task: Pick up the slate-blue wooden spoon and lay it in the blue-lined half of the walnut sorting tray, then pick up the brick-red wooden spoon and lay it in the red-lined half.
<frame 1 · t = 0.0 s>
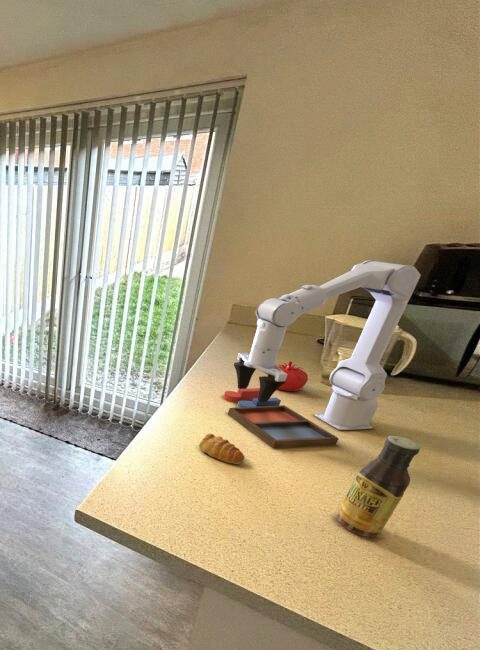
hand: (252, 394, 104), 10 cm above the countertop, tool pointing down, fingers open, 7 cm apart
blue spoon: (255, 408, 117), on the countertop
pastry: (218, 453, 98), on the countertop
red spoon: (240, 398, 123), on the countertop
pomegranate: (283, 388, 129), on the countertop
sorting tray: (277, 428, 107), on the countertop
sauce bottle: (357, 528, 75), on the countertop
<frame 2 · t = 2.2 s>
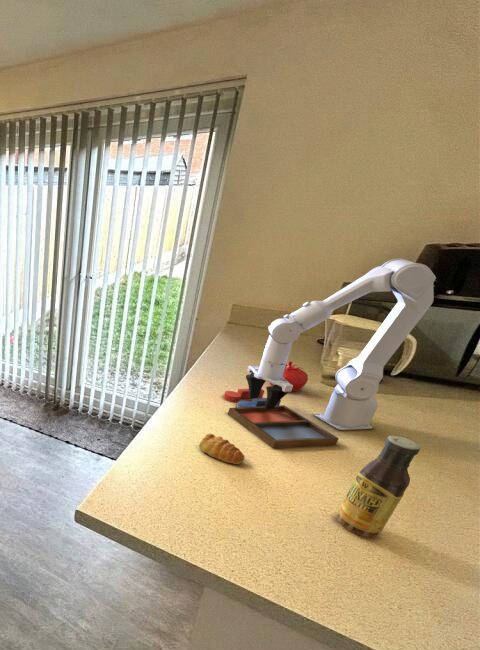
hand: (261, 402, 116), 2 cm above the countertop, tool pointing down, fingers open, 6 cm apart
nothing on the countertop moved.
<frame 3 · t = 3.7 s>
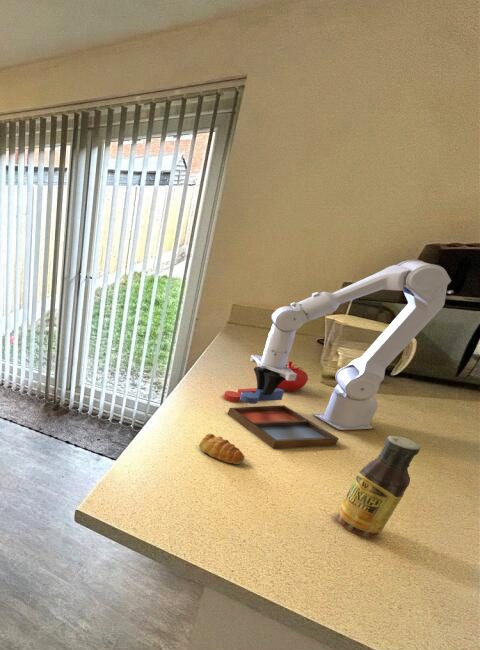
hand: (264, 392, 115), 5 cm above the countertop, tool pointing down, fingers closed on blue spoon, 2 cm apart
blue spoon: (258, 399, 116), point 3 cm above the countertop, touching gripper
everything else where it was.
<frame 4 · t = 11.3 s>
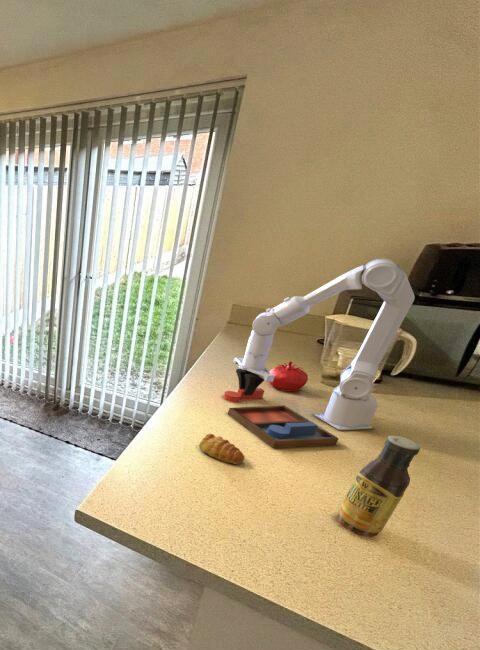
hand: (245, 393, 122), 2 cm above the countertop, tool pointing down, fingers closed on red spoon, 2 cm apart
blue spoon: (288, 434, 103), point 1 cm above the countertop, touching sorting tray
red spoon: (240, 398, 123), on the countertop, touching gripper
everything else where it was.
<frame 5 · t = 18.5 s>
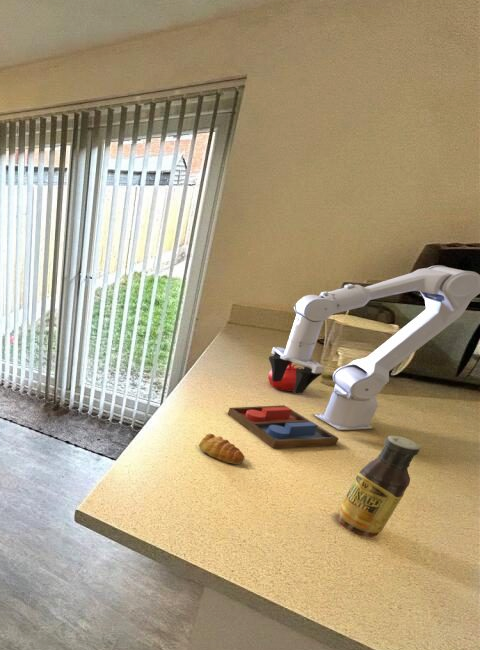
hand: (286, 386, 109), 9 cm above the countertop, tool pointing down, fingers open, 7 cm apart
red spoon: (265, 418, 110), point 1 cm above the countertop, touching sorting tray
everything else where it was.
at the end: blue spoon inside the target area on the sorting tray (0.4 cm from its centre), point 0.8 cm above the sorting tray's base; red spoon inside the target area on the sorting tray (0.5 cm from its centre), point 0.8 cm above the sorting tray's base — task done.
